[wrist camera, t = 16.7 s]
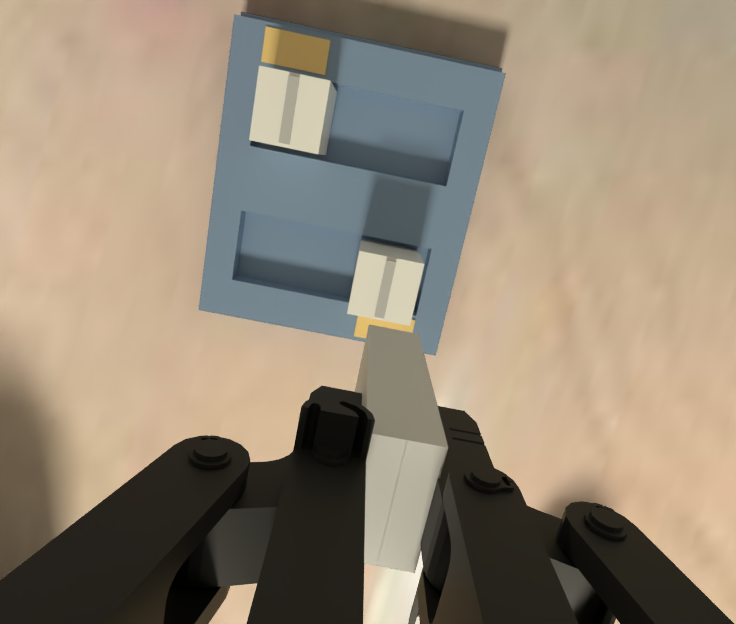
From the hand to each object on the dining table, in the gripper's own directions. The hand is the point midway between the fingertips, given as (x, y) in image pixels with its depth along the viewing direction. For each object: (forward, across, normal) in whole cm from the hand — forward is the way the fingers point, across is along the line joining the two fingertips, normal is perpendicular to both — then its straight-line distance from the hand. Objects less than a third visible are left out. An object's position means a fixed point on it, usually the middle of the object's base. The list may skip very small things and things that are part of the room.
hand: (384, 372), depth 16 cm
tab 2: (+23, +1, -1) cm, 23 cm away
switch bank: (+24, -3, +3) cm, 25 cm away
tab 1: (+23, -7, +7) cm, 25 cm away
